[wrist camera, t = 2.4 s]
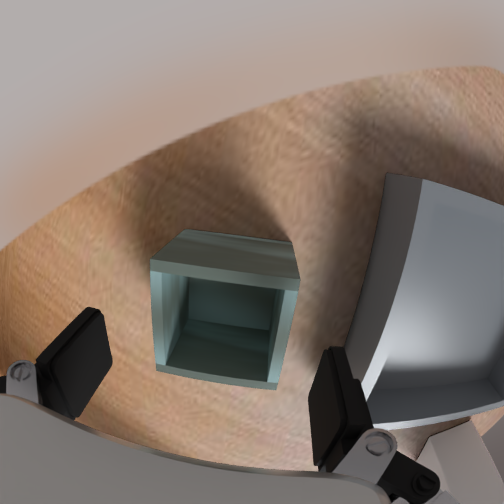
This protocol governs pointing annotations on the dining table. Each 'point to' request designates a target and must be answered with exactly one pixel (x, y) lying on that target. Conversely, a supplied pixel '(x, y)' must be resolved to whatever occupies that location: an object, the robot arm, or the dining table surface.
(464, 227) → the charcoal crate
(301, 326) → the dining table surface
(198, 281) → the teal crate
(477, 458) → the milk carton
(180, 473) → the robot arm
